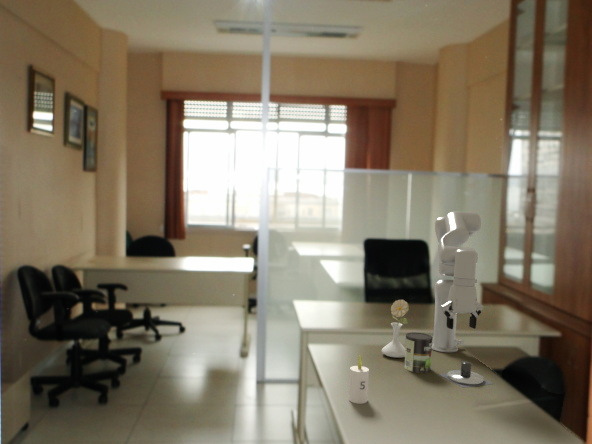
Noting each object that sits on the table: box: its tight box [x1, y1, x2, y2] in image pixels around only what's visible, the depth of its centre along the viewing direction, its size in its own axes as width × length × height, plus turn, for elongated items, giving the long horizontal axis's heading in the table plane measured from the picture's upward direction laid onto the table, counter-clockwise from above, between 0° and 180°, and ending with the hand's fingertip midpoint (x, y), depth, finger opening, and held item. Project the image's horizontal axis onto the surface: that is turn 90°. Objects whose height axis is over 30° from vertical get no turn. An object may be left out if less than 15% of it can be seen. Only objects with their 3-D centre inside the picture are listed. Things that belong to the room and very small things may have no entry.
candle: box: [348, 354, 370, 404], centre depth 175 cm, size 6×6×15 cm
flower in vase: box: [381, 299, 410, 359], centre depth 224 cm, size 13×11×25 cm
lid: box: [447, 360, 485, 386], centre depth 197 cm, size 13×13×6 cm
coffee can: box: [403, 331, 433, 374], centre depth 207 cm, size 10×10×14 cm
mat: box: [438, 372, 494, 389], centre depth 197 cm, size 14×14×1 cm
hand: (461, 328), depth 196 cm, fingers open, 9 cm apart
